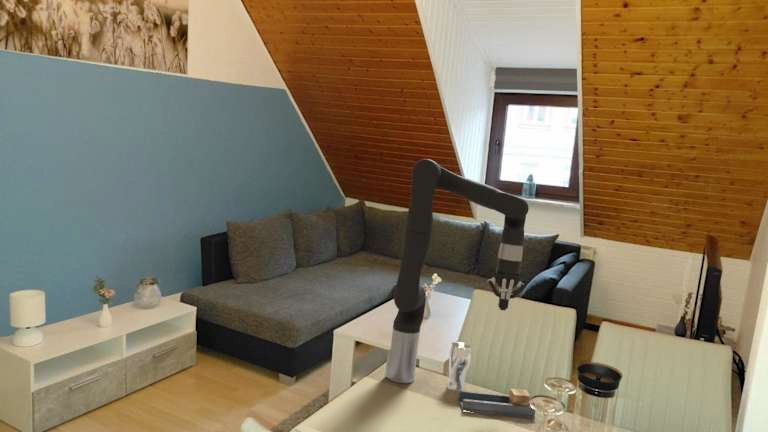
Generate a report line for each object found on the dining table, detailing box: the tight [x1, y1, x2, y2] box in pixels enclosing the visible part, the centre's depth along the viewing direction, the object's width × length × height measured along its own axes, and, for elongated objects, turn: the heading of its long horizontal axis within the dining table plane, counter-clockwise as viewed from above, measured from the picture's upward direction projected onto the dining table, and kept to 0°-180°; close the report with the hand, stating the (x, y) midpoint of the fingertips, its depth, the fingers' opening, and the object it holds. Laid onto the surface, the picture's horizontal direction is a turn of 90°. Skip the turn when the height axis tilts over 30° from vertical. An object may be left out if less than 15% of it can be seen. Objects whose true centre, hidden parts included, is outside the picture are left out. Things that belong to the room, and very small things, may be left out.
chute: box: [457, 390, 536, 420], centre depth 169 cm, size 22×9×4 cm, turn 91°
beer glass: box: [446, 341, 472, 393], centre depth 183 cm, size 7×7×15 cm
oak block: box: [508, 388, 531, 406], centre depth 169 cm, size 5×5×5 cm
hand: (502, 309), depth 179 cm, fingers closed
